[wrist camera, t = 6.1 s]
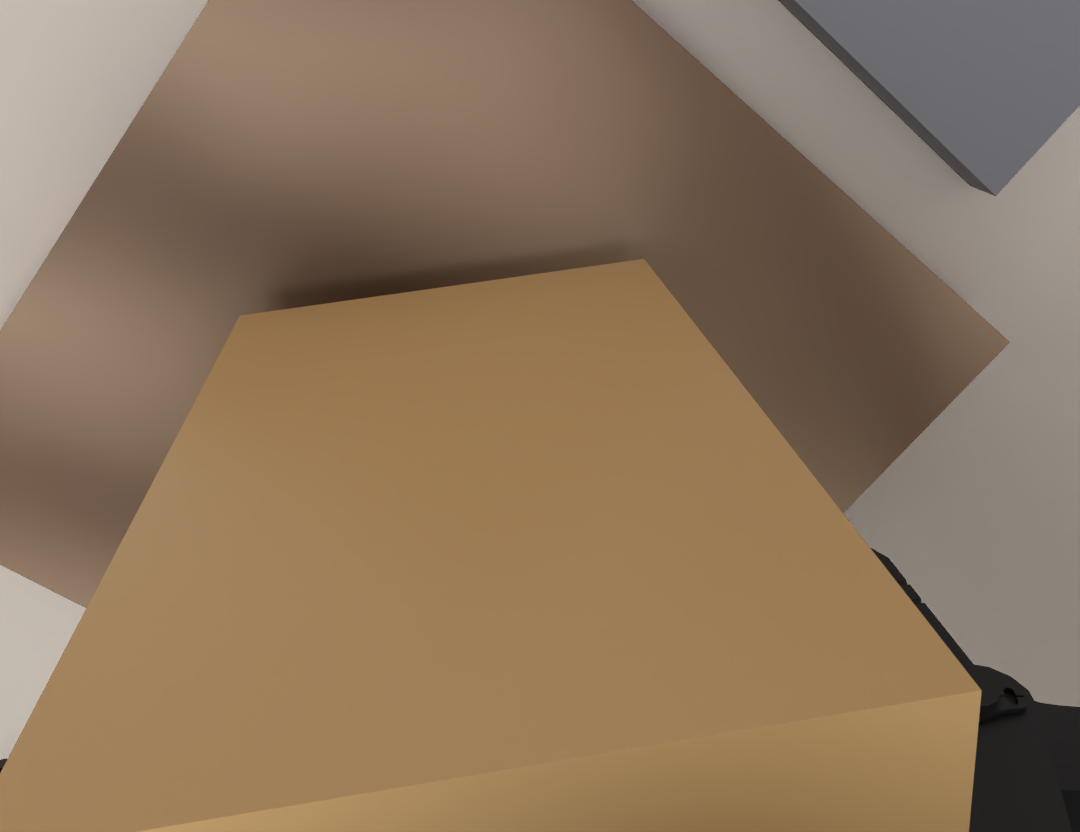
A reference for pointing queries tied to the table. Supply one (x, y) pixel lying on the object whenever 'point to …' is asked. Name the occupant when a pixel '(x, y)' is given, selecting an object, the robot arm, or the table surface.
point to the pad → (962, 72)
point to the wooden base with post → (445, 237)
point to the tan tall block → (493, 596)
